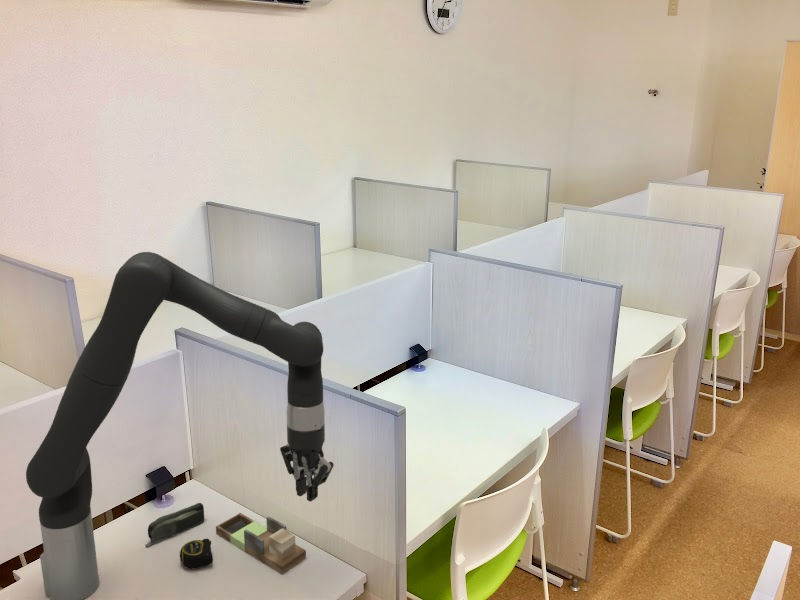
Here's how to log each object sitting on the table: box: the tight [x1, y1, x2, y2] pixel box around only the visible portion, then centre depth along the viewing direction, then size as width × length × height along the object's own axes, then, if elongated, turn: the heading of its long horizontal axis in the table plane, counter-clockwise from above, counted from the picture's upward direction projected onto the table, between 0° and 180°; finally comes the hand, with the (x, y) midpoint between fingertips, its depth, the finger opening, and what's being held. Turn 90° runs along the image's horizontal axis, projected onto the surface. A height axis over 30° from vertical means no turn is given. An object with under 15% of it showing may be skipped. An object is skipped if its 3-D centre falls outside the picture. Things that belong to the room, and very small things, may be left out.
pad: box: [230, 520, 267, 552], centre depth 157 cm, size 5×7×2 cm
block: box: [269, 528, 296, 559], centre depth 150 cm, size 4×4×4 cm
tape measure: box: [179, 538, 214, 570], centre depth 149 cm, size 7×7×4 cm
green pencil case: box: [145, 502, 205, 548], centre depth 159 cm, size 5×3×15 cm
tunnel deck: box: [215, 512, 307, 575], centre depth 155 cm, size 22×7×6 cm, turn 52°
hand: (306, 496), depth 141 cm, fingers open, 2 cm apart
